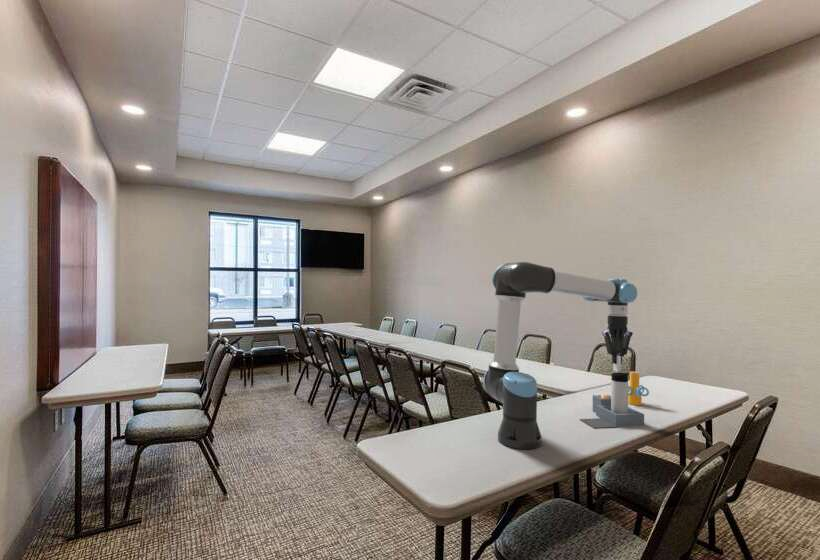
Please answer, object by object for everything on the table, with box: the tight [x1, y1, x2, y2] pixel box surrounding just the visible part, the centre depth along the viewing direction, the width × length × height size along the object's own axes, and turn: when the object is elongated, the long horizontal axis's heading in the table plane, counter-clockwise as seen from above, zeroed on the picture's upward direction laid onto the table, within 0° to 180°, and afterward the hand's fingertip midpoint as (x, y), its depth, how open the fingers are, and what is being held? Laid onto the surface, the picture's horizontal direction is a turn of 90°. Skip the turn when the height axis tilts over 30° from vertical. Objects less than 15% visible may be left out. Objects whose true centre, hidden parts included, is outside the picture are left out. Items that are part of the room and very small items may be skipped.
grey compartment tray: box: [592, 394, 645, 427], centre depth 169 cm, size 12×19×7 cm, turn 8°
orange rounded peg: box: [600, 394, 609, 399], centre depth 176 cm, size 3×3×7 cm
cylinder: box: [628, 371, 650, 406], centre depth 190 cm, size 12×10×15 cm
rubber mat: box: [579, 417, 618, 429], centre depth 162 cm, size 10×10×1 cm
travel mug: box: [610, 372, 630, 414], centre depth 166 cm, size 6×7×20 cm
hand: (617, 371), depth 168 cm, fingers closed
